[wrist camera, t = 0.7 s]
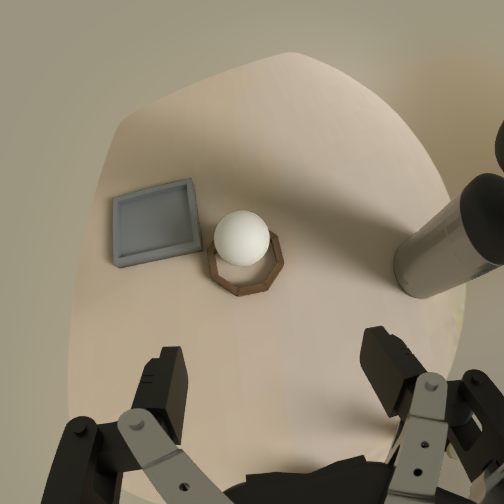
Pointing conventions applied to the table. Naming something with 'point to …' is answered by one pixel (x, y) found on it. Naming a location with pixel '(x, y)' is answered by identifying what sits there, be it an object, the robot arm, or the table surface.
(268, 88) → the table surface
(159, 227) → the tray
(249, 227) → the lightbulb
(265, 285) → the socket ring
